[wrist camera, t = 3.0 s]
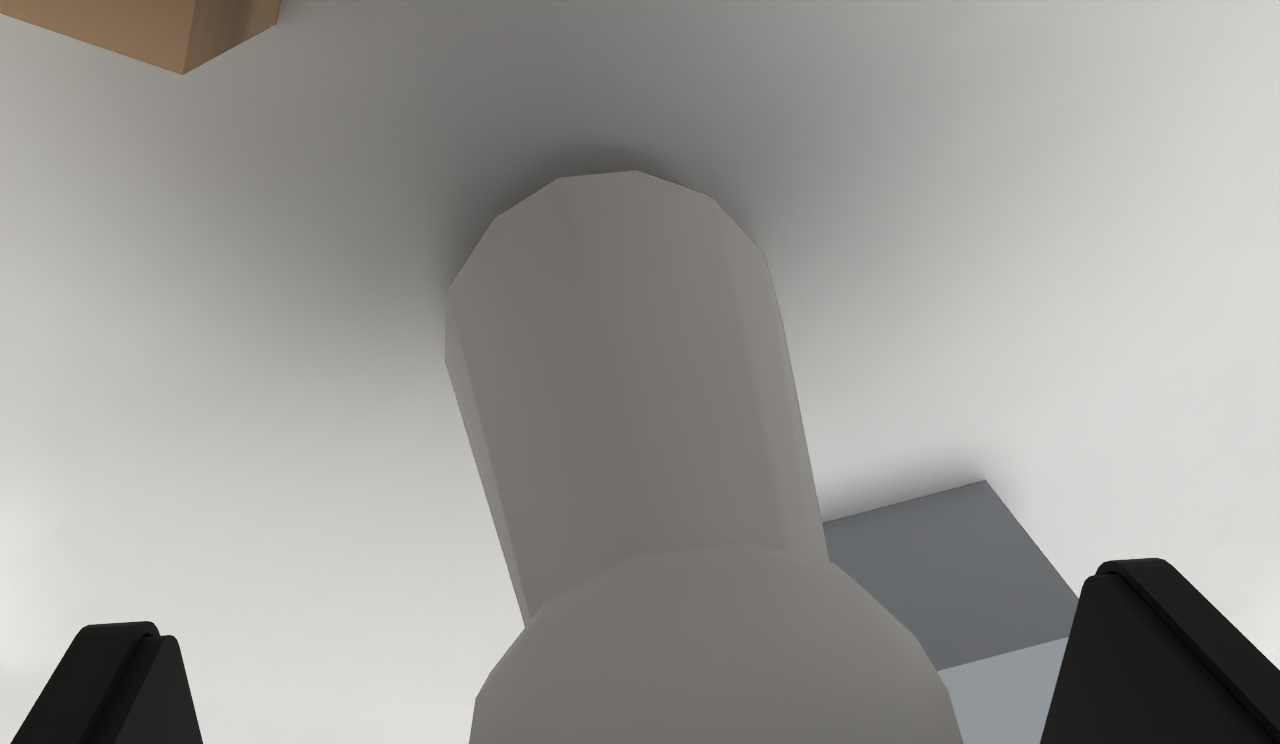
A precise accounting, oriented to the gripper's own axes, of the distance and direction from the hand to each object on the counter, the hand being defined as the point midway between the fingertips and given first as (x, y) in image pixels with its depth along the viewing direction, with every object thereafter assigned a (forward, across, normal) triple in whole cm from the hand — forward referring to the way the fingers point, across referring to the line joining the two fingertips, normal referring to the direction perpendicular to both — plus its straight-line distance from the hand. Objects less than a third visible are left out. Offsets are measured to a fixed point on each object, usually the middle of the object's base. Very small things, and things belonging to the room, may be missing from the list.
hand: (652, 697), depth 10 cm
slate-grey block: (+10, -7, +7) cm, 15 cm away
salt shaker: (+10, 0, -1) cm, 10 cm away
